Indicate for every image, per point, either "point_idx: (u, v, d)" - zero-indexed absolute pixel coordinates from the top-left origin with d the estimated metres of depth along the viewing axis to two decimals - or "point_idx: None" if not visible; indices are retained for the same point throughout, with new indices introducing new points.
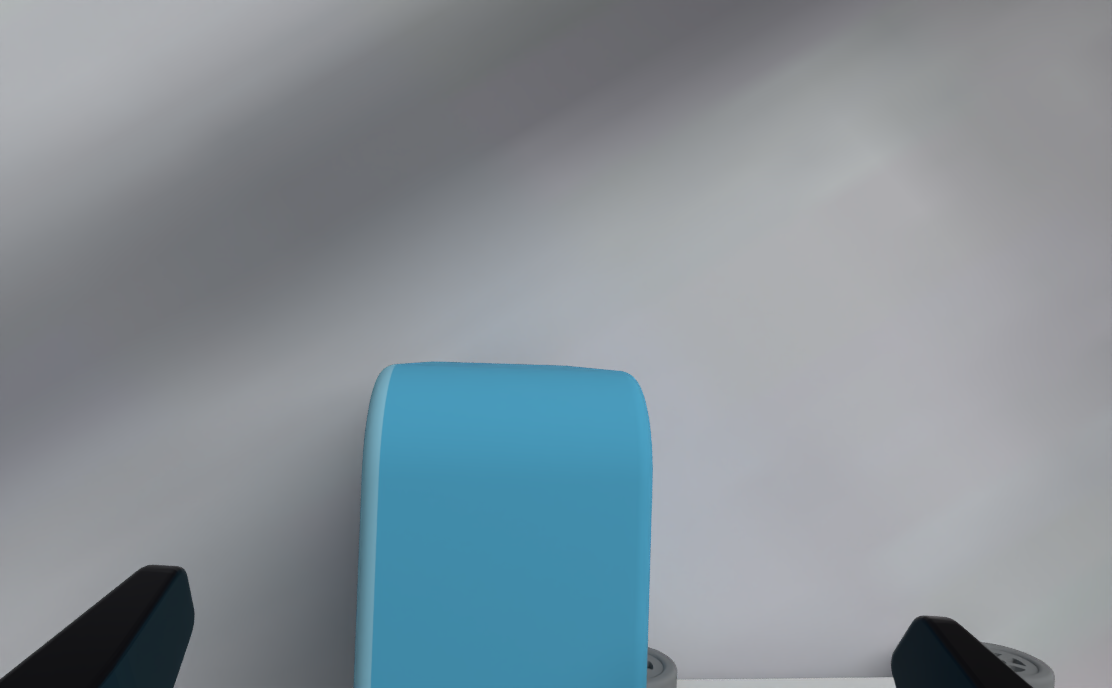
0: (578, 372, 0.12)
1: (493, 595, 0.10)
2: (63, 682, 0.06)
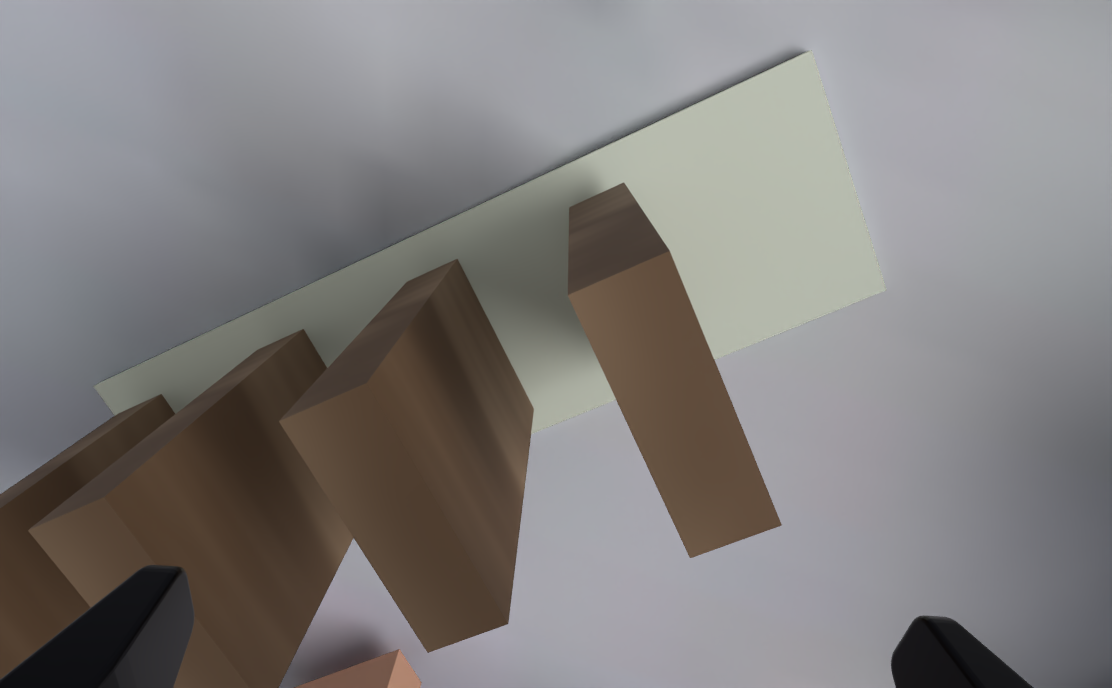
0: None
1: None
2: (63, 682, 0.06)
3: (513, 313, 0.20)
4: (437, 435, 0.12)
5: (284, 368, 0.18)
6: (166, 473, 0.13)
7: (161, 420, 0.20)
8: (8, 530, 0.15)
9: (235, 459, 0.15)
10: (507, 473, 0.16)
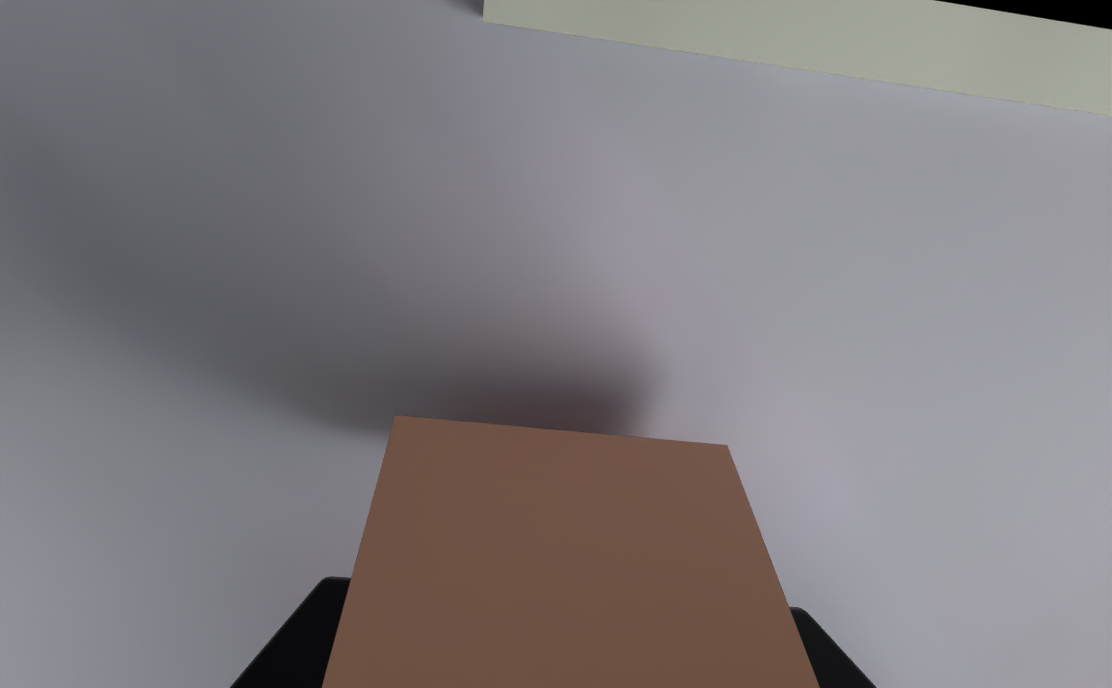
0: None
1: None
2: None
3: None
4: None
5: None
6: None
7: None
8: None
9: None
10: None
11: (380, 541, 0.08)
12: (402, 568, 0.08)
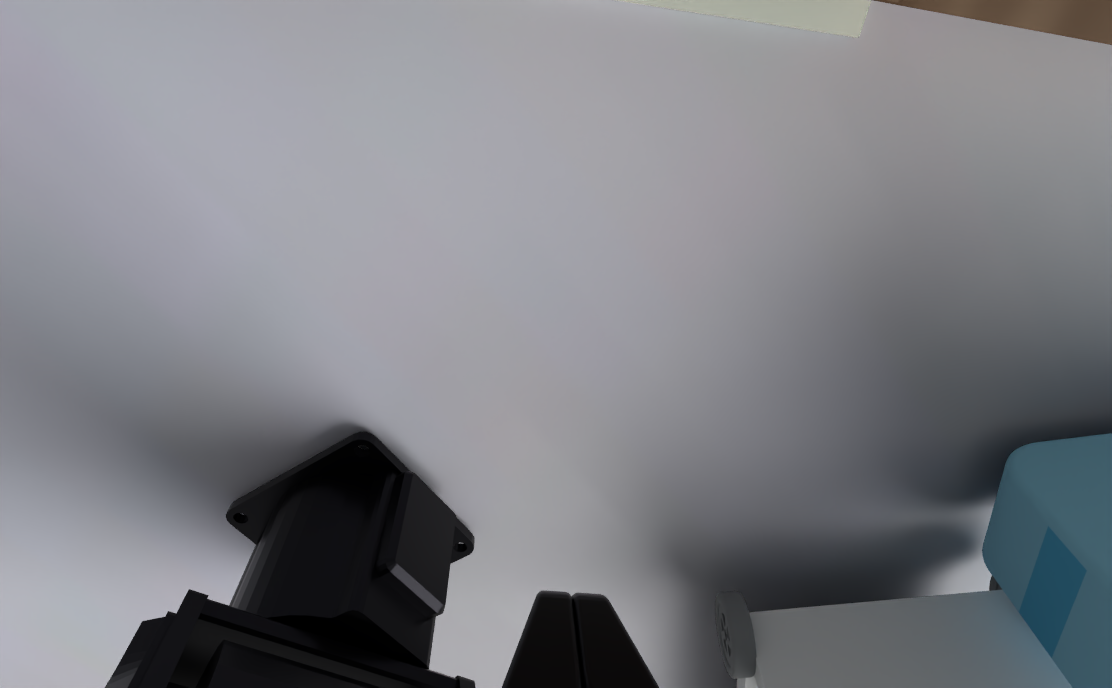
0: None
1: None
2: None
3: None
4: None
5: None
6: None
7: None
8: None
9: None
10: None
11: None
12: None
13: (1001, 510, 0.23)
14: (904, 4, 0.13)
